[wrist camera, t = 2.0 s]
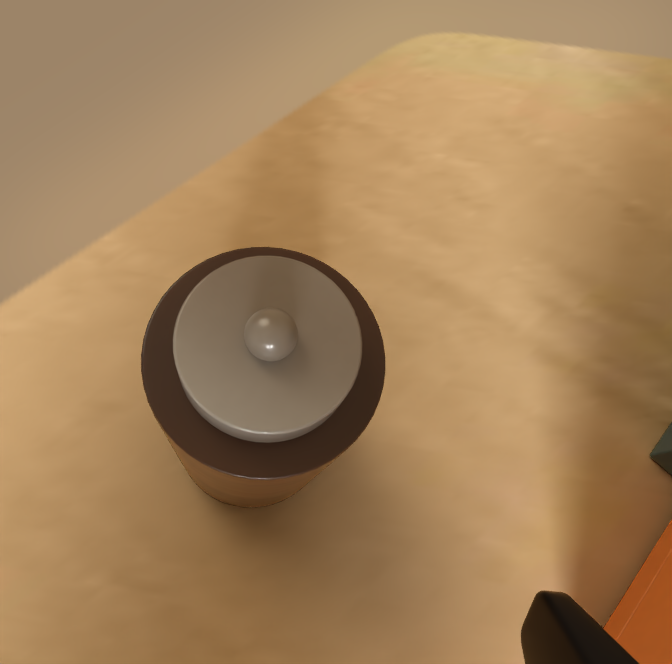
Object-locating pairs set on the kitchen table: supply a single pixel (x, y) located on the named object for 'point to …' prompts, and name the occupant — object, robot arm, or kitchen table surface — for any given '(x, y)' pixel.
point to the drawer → (647, 608)
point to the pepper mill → (261, 371)
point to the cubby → (664, 450)
